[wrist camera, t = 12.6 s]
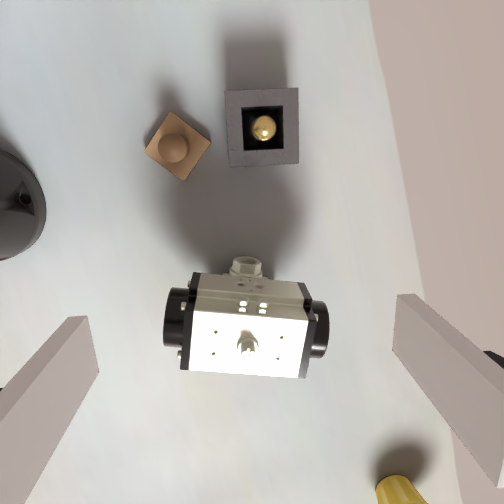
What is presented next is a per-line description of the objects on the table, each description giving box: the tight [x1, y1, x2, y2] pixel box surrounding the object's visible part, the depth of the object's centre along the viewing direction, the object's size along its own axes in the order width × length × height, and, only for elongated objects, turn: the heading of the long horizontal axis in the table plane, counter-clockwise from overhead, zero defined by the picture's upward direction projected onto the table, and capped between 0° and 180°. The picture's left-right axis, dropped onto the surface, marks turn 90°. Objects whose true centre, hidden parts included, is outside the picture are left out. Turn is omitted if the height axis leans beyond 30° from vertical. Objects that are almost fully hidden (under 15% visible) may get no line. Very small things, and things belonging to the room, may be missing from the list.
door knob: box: [241, 109, 278, 150], centre depth 41 cm, size 6×6×9 cm
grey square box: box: [225, 88, 299, 167], centre depth 42 cm, size 8×8×5 cm
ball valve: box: [163, 256, 329, 378], centre depth 43 cm, size 18×8×18 cm, turn 83°
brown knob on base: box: [144, 111, 211, 181], centre depth 43 cm, size 6×6×6 cm
